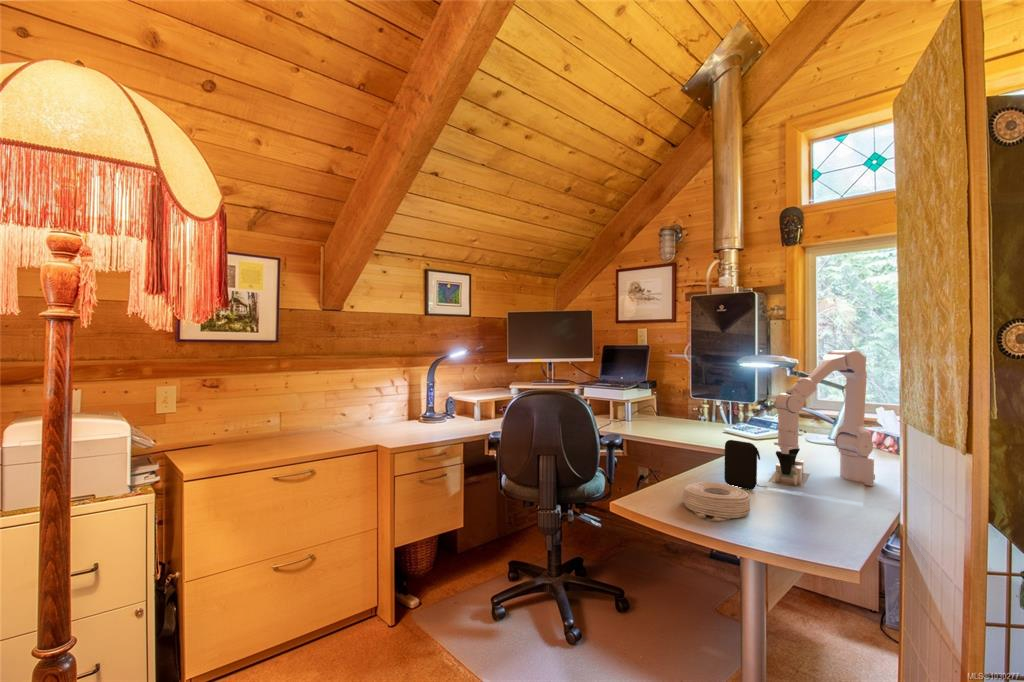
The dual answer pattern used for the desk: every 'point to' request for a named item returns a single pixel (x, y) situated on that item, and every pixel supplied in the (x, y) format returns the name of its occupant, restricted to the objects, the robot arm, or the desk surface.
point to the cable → (716, 500)
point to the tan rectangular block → (800, 464)
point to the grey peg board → (776, 480)
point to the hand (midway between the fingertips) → (787, 472)
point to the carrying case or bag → (741, 464)
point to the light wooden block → (789, 478)
